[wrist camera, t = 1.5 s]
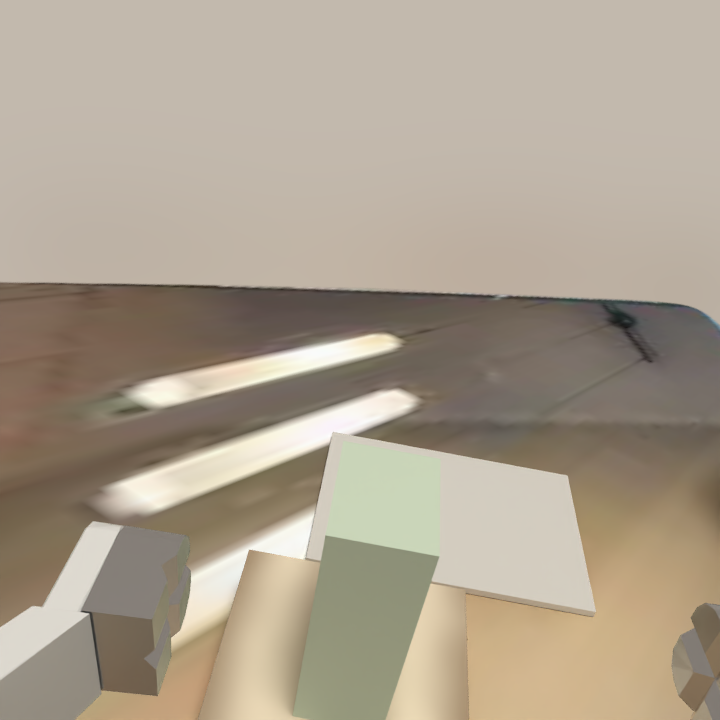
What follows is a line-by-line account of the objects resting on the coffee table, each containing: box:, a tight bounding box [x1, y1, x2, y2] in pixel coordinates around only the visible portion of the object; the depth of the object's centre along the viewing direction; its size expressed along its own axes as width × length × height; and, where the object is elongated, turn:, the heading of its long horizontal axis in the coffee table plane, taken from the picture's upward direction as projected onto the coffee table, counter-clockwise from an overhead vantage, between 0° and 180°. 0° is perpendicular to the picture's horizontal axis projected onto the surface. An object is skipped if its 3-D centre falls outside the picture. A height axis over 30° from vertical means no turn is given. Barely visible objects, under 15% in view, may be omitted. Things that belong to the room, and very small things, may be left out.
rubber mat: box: [306, 432, 596, 617], centre depth 47 cm, size 18×12×1 cm, turn 84°
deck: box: [198, 550, 469, 720], centre depth 34 cm, size 12×12×4 cm
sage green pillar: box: [293, 441, 441, 720], centre depth 29 cm, size 4×5×12 cm
